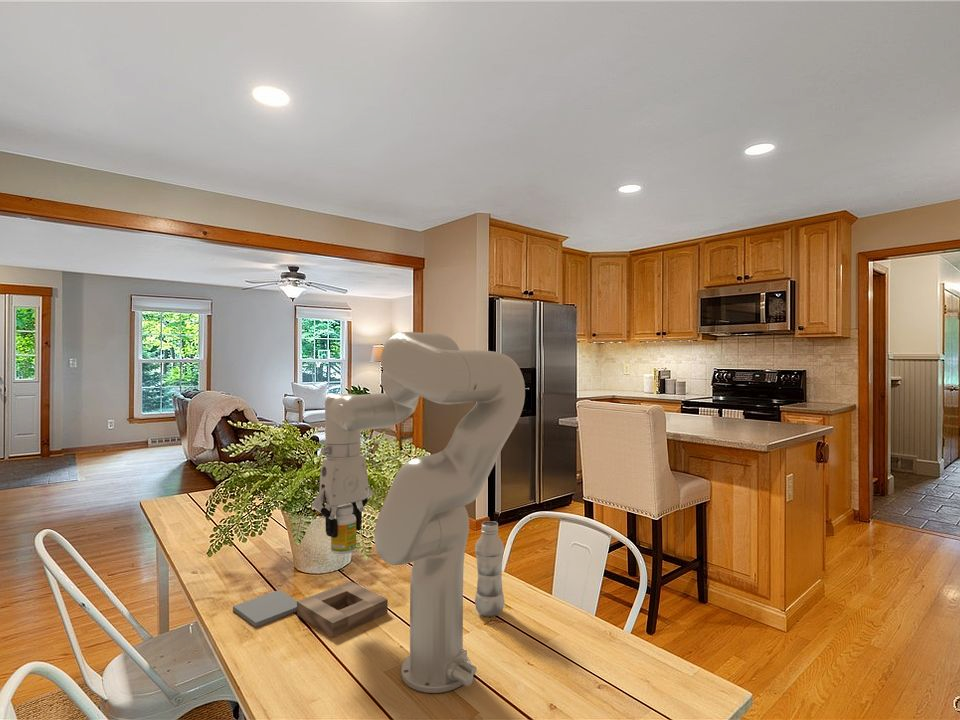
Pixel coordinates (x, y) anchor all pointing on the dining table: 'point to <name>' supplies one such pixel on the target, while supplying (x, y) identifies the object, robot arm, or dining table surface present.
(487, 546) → the plastic bottle
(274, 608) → the grey pad
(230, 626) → the dining table surface
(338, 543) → the supplement bottle
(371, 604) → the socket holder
